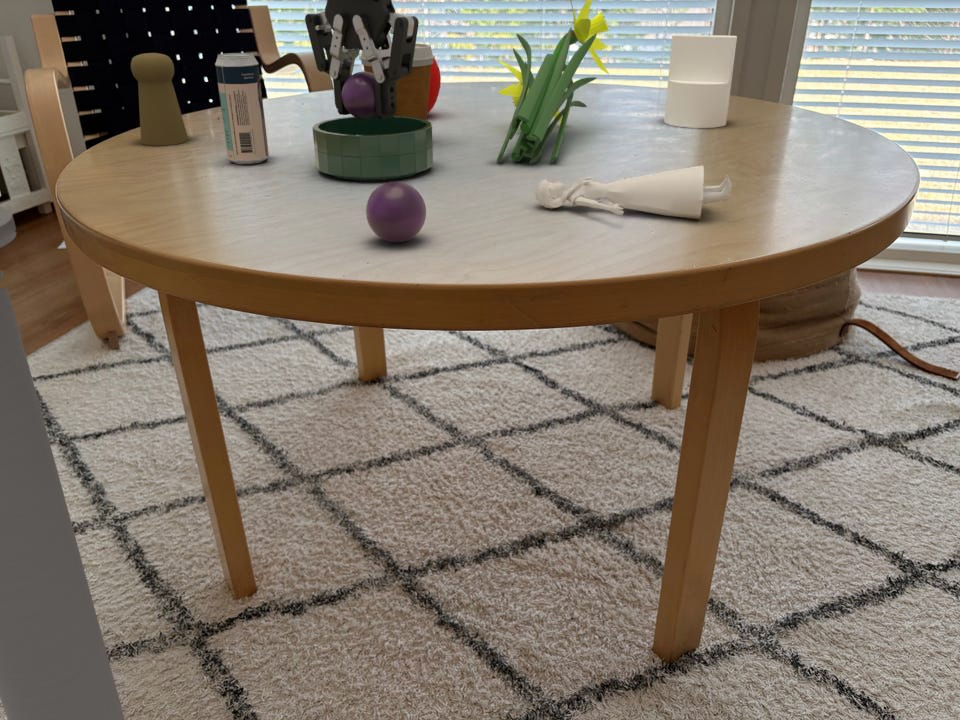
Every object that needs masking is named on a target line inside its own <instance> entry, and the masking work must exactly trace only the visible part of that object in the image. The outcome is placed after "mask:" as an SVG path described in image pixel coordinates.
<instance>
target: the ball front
mask: <svg viewBox="0 0 960 720" xmlns="http://www.w3.org/2000/svg"><path fill="white" fill-rule="evenodd" d="M365 216H366V221H367V223H368V226H369V228H370V230H372V232H373V233H374V234H375V235H376V236H377V237H379V238H380V239H381V240H384V241H386V242H389V243H403V242H407V241H410V240H412V239H413V238H414V237H416V236H417V235H418V234H419V233H420V231H421V230H422V229H423V227H424V225H425V224H426V223H425V222H426V219H427V207H426V202H425V199H424V198H423V195H421V193H420V192H419V191H418V190H417V188H415V187H414V186H412V185H411V184H408V183H405V182H402V181H397V180H396V181H388V182H385V183H383V184H381V185H379V186H378V187H376V188H375V189H374V190H373V191H372V192H371V194H370V196H369V198H368V200H367V203H366V207H365Z"/></svg>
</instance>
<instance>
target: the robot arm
mask: <svg viewBox="0 0 960 720" xmlns="http://www.w3.org/2000/svg"><path fill="white" fill-rule="evenodd" d="M304 22H305V25H306V30H307V33H308V38H309V42H310V45H311V49H312V54H313V57H314V62H315V65H316V69H317V70H318V72H320V73H323V72H324V73H325V74H328V75H329V76H330V78H331V79H332V84H333V94H334V95H333V96H334V105H335V108H336V109H337V113H338V114H339V116H341V115H342V116H347V115H348V116H349V115H351V114H350V113H349V112H348V111H347V110H346V108H345V107H344V104H343V101H342V88H343V85H344V83H345V81H346V80H347V79H348V78H349V77H350V76H351V75H353V72H354V67H355V61H356V59H357V58H358V57H359V56H360V53H361V51H362V50H363V51H364V54H365V57H366V59H367V61H368V62H370V63H371V66H372V69H373V72H374V75H375V78H376V81H377V82H378V83H375V100H376V116H377V118H378V119H382V120H385V119H389V118H393V116H394V113H395V112H396V109H397V104H396V81H397V79H399V78H401V77H404V76H408V75H410V74H411V71H412V65H413V58H414V51H415V45H416V43H417V37H418V31H419V24H420V23H419V19H418V17H417V16H415V15H403V14H400V13H398V12H397V11H396V9H395V7H394V4H393V1H392V0H326V4H325V7H324V11H321V12H316V13H307V14H305V16H304ZM390 35H392V38H391V36H390ZM380 47H381V50H377V49H379V48H380Z"/></svg>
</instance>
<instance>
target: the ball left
mask: <svg viewBox="0 0 960 720" xmlns="http://www.w3.org/2000/svg"><path fill="white" fill-rule="evenodd" d="M375 83H378V82H377V81H376V78H375V75H374V74H373V73H370V72H364V71H358V72H355V73H352V75H351V76H350V77H349V78H348V79H347V80H346V81H345V83H344V85H343V88H342V101H343V104H344V107H345V108H346V110H347V111H348V112H349V113H350V114H349V115H351V116H354V117H356V118H358V119H362V120H370V119H373V118H376V117H377V116H376V100H375Z"/></svg>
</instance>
